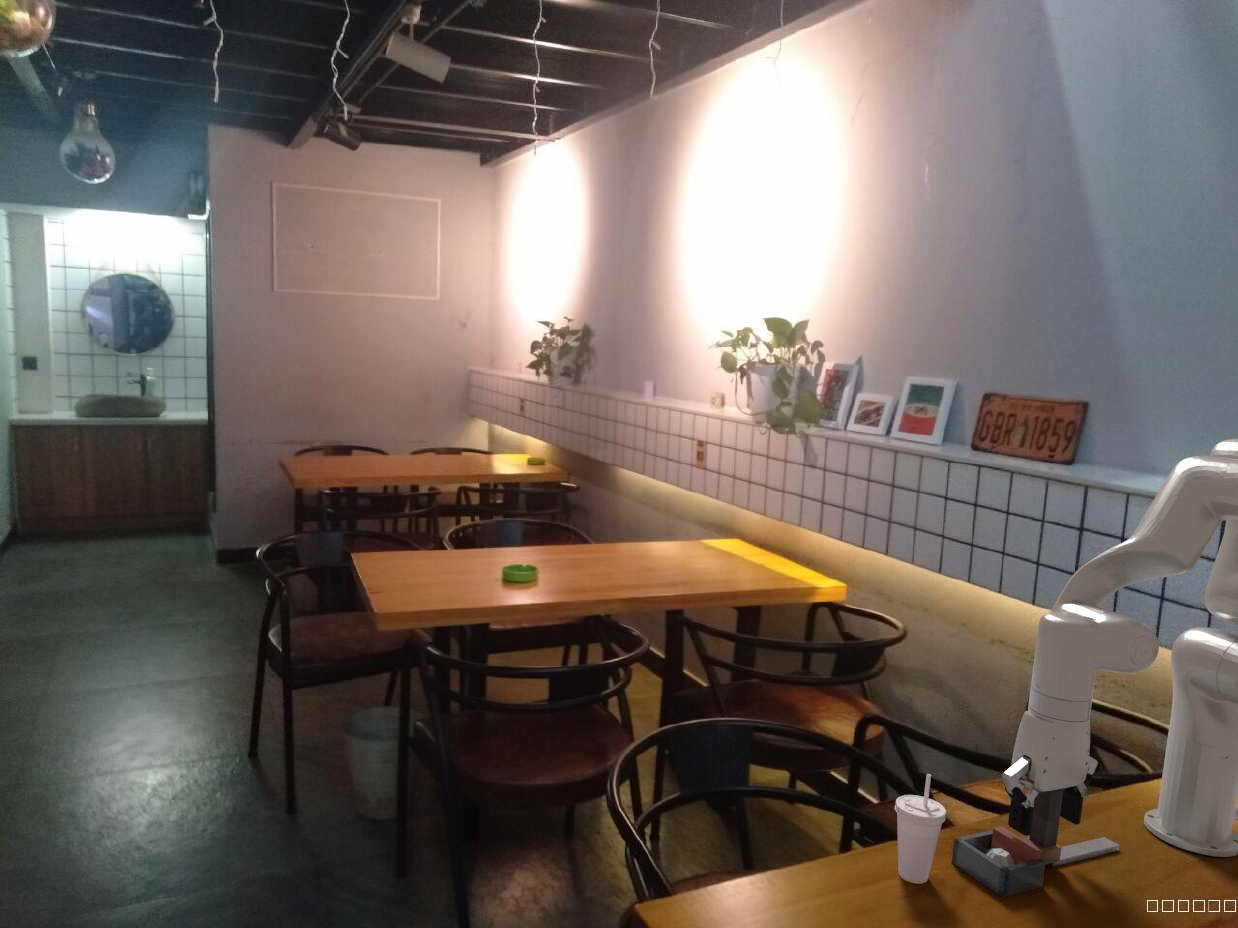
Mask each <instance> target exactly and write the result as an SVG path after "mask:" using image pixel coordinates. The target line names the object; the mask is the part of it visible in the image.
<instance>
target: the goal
mask: <svg viewBox="0 0 1238 928" xmlns="http://www.w3.org/2000/svg"><path fill="white" fill-rule="evenodd" d="M992 835H993V829H991V830H986V831H980V832H975V833H972V834H968V835H963V836H958V837H954V838H953V845H952V846H953V849H952V855H951V856H952V857H951V863H952V864H953V863H954V864H955V865H954V864H953V865H954V866H956V867H958V868H959V869H960V870H962V871H963V872H965V873H966V874H967V875H969V876H970V877H972V878H973V879H975V880H976V881H978V882H980V883H981V884H983V885H984V886H985V887H986V888H988V889H989V890H991V891H992V892H994V893H995V894H997V895H998V896H1000V897H1001V898H1005V897H1008V896H1013V895H1016V894H1020V893H1024V892H1027V891H1031V890H1035V889H1039V888H1040V889H1041V888H1043V883H1044V877H1045V876H1044V875H1045V870H1046V867H1045V866H1046V865H1045V861H1044V860H1042V859H1036V860H1032V861H1028V862H1024V863H1020V864H1015V865H1011V866H1007V867H1004V866H1003V865H1001V864H1000V863H998V862H996V861H995V860H993V859H992V858H990V857H989V856H987V855H986V854H987V853H988V852H989V851H990V850H991V843H992Z"/></svg>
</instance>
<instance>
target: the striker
mask: <svg viewBox="0 0 1238 928" xmlns="http://www.w3.org/2000/svg"><path fill="white" fill-rule="evenodd" d="M1062 797H1063V789H1057V790H1052V791H1047V792H1039V793H1038V794H1037V796H1036V798H1035V799H1034V801H1033V806H1032V807H1033V808H1034V809H1033V818H1032V826H1031V833H1030V835H1028V836H1026V837H1022V838H1021V837H1020V836H1019V835H1017V834H1016V833H1013V832H1012V831H1010V830H1008V829H1006V828H1005V827H1003V826H998V827H993V829H992V830H993V835H992V843H991V849H997V848H1001V849H1003V850H1005V851H1007V852H1008V853H1010V855H1011V857H1012V859H1013V861H1014V865H1015V864H1020V863H1024V862H1028V861H1032V860H1036V859H1042V860H1044V861H1045V866H1046V865H1050V863H1054V862H1058V861H1060V855H1061V847H1062V846H1060V845H1059V844H1057V842H1058V834H1059V827H1060V818H1061V817H1060V812H1061V804H1062Z"/></svg>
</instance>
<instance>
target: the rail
mask: <svg viewBox="0 0 1238 928" xmlns="http://www.w3.org/2000/svg"><path fill="white" fill-rule="evenodd" d="M1060 847H1061V855H1060V861H1058V862H1054V863H1050V864H1049V865H1050V866H1052V867H1058V866H1061V865H1066V864H1070V863H1074V862H1077V861H1082V860H1085V859H1089V858H1093V857H1099V856H1101V855H1106V854H1110V853H1114V852H1118V851H1119V850H1120V844H1118V843H1116V842H1114V841H1112V840H1111V839H1108V838H1107V837H1106V836H1102V837H1099V838H1098V837H1097V838H1093V839H1090V840H1086V841H1080V842H1078V843H1073V844H1068V845H1064V846H1060Z"/></svg>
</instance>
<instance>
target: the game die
mask: <svg viewBox="0 0 1238 928" xmlns="http://www.w3.org/2000/svg"><path fill="white" fill-rule="evenodd" d="M986 855H987V856H989V857H990V858H992V859H993V860H995V861H996V862H998V863H1000V864H1001V865H1003V866H1004V867H1007V866H1011V865H1014V861H1013V859H1012V857H1011V855H1010V853H1008V852H1007V851H1005V850H1003V849H1001V848H997V849H991V850H990V851H989V852H988V853H987V854H986Z"/></svg>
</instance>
